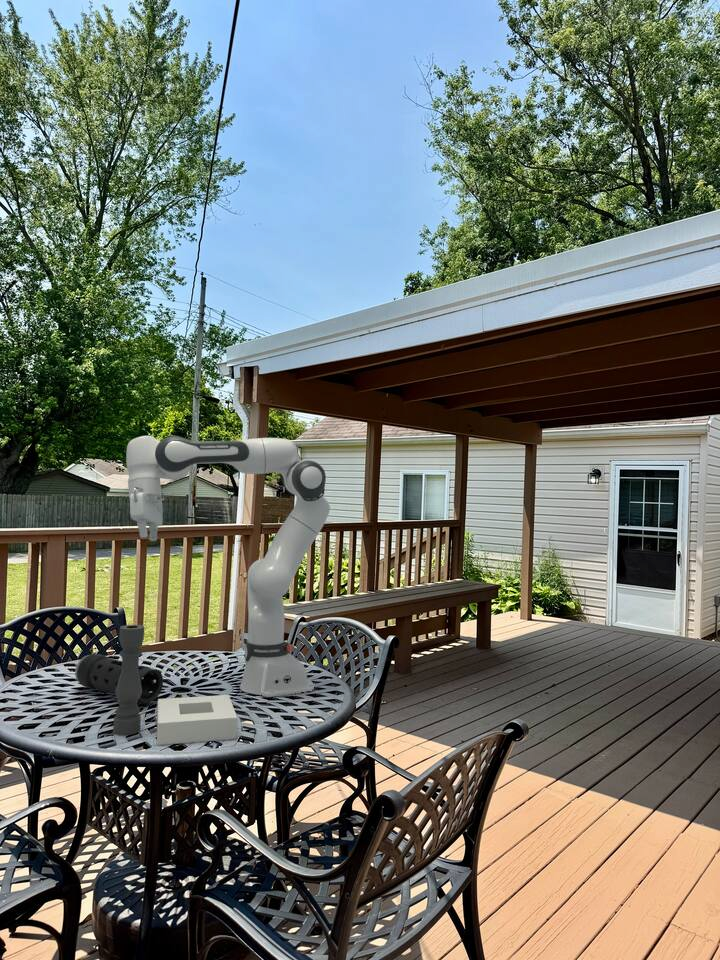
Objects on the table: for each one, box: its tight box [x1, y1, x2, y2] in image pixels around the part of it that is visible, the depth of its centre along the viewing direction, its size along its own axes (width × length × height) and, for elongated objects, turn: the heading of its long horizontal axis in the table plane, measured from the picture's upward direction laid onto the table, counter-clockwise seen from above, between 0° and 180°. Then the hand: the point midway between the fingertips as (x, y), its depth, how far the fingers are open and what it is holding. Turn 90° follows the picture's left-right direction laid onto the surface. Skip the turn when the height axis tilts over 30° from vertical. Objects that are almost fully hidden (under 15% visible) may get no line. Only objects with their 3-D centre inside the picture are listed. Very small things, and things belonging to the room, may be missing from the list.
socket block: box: [156, 694, 238, 746], centre depth 152 cm, size 18×18×5 cm
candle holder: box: [112, 624, 145, 736], centre depth 150 cm, size 6×6×25 cm
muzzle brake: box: [74, 653, 164, 706], centre depth 175 cm, size 10×28×10 cm, turn 58°
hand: (148, 539), depth 174 cm, fingers open, 8 cm apart
